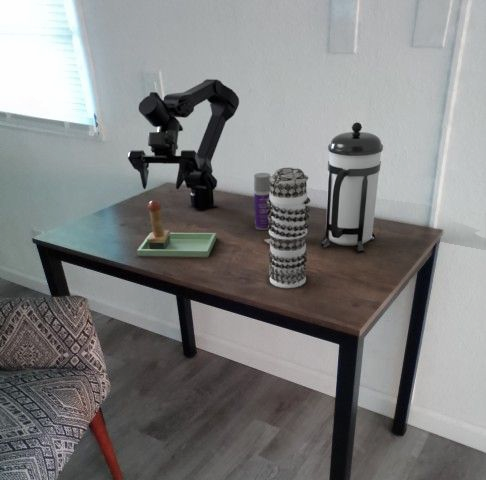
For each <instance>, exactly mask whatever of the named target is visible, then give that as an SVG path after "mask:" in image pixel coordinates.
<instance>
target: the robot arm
mask: <svg viewBox="0 0 486 480" xmlns="http://www.w3.org/2000/svg"><path fill="white" fill-rule="evenodd" d="M205 101H207V102H208V103H209V108H210V113H211V115H210V118H209V121H208V122H207V125H206V128H205V130H204V133H203V136H202V139H201V141H200V144H199V147H198V149H197V151H196V150H194V149H184V150H183V149H182V150H181V151H180V155H177V150H178V149H179V145H178V141H179V132H183V131H184V128H183V126H182V124H181V122H180V120H179V119H178V118H182V119H183V118H184V119H186V118H188V117H189V116H190V115H191V114H193V112H194V110H195V107H197V106H198V105H200V104H201V103H203V102H205ZM239 105H240V98H239V96H238V95H237V93H236V92H235V91H234V90H233V89H232V88H230V87H228V86H227V85H225V84H224V83H223V82H222V81H221V80H219V79H213V78H211V79H210V78H208V79H205V80H203V81H202V82H201V83H198V84H196V85H194V86H192V87H191V88H189V89H187V90H185V91H183V92H174V93H168V94H165V95H164V96H163V99H162V97H160V94H159V93H158V92H156V91H150V92H149V95H147V96H146V97H144V98H143V99H142V100H141V101H140V102H139V103H138V112H139V113H140V114H141V115H142V116H143V117H144V119H145V120H146V121H147V122H148V123H149V124H150V125H151V126H152V127H153V128H157V131H155V132H154V131H152V132H147V146H148V147H150V151H151V153H152V154H153V155H148V154H146V152H145V151H144V150H143V149H141V150H140V149H139V150H138V149H137V150H135V149H134V150H130V151H129V152H128V155H127V160H128V161H129V163H130V164H131V166H132V167H133V169H134V170H136V171H137V172H139V176H140V180H141V186H142V188H143V189H144V190H146V189H147V186H148V179H149V173H150V169H148V168H149V166H150V164H167V165H170V164H171V165H174V164H176V165H177V164H178V171H177V176H176V182H175V188H176V190H179V189H180V187H181V186H182V184H183V183H185V184H184V185H185V186H186V189H190V191H191V193H190V194H189V196H190V207H192V208H194V209H195V210H196V211H204V210H209V209H213V208H216V207H217V204H215V199H214V190H216V188H217V186H218V179H217V178H216V177H215V176H214V175H213V165H212V160H213V157H214V154H215V152H216V149H217V146H218V144H219V142H220V140H221V139H220V138H221V136H222V133H223V131H224V128H225V125H226V123H227V122H228V121H229V120H230V119H232V117H234V115H235V114H236V112H237V110H238V107H239Z"/></svg>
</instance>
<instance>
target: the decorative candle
mask: <svg viewBox="0 0 486 480" xmlns="http://www.w3.org/2000/svg"><path fill="white" fill-rule="evenodd" d="M269 180H270V193H269V197H268V200H267V201H266V202H267V206H268V207H267V209H268V210H267V212H268V213H269V216H268V228H269V229H268V234H269V236H270V239H271V244H269V251H268V256H269V260H268V262H269V263H270V264H269V266H268V270H269V272H268V273H269V274H268V275H269V282H270V283H271V284H272V285H273V286H274V287H278V288H281V289H294V288H295V289H296V288H298V287H301V286H303V285H304V284H306V281H307V277H306V276H307V268H308V267H307V264H306V263H307V260H308V259H307V255H308V251H307V244H306V235H307V234H308V228H309V224H308V223H307V222H306V221H307V220H308V219H309V218H310V215H309V214H308V213H309V212H310V207H309V206H307V205H308V204H310V202H311V199H310V197H308V191H307V187H308V186H307V181H308V180H309V176H308V175H306V174H305V173H304V171H303V170H302V169H300V168H298V167H282V168H278V169H276V170H275V171H274V173H273V174H272V175H270V178H269ZM270 201H271V203H270ZM270 209H271V211H270Z"/></svg>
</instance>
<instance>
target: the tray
mask: <svg viewBox="0 0 486 480" xmlns="http://www.w3.org/2000/svg"><path fill="white" fill-rule="evenodd" d="M151 233H152V232H150V233H149V234H148V235H147V237H146V238H145V239H144V241H143V242H142V243H141V245H139V247H138V249H136V253H137V256H138V257H186V258H187V257H193V258H195V257H196V258H208V257H210V253H211V251H212V249H213V247H214V245H215V242H216V241H217V232H170V234H169V236H170V243H169V245H168V246H167V248H166V249H150V248H149V243H148V242H147V239H148V237H149V236H150V235H151Z"/></svg>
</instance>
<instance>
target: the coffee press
mask: <svg viewBox="0 0 486 480" xmlns="http://www.w3.org/2000/svg"><path fill="white" fill-rule="evenodd" d="M362 128H363V126H362V124H361V123H360V122H359V121H358V122H354V123H353V124H352V125H351V130H352V131H347V132H343V133H339V134H337V135H335V136H334V137H333V138H332V139H331V141H330V143H329V144H328V146H327V150H328V153H329V154H328V161H327V173H328V177H327V196H326V215H325V216H326V218H325V236H324V238H323V239H322V240H321V243H320V244H321V246H322V247H323V248H325V249H326V248H328V247H329V246H330V245H331V244H332V243H334V244H337V245H340V246H353V247H354V248H355V251H356V253H357V254H363V253H364V252H365V248H364V244H365V243H367V242H368V241H374V240H375V239H376V236H375V233H374V232H373V231H374V221H375V215H376V214H375V213H376V204H377V194H378V185H379V173H380V171H381V164H382V161H381V155H382V152H383V150H384V145H383V144H382V140H381V139H380V137H379V136H377V135H376V134H374V133H370V132H365V131H361V130H362Z"/></svg>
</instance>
